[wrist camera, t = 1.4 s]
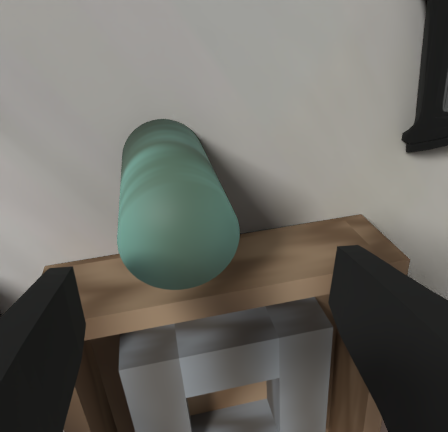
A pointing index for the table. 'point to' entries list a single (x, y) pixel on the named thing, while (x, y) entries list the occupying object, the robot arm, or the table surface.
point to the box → (226, 341)
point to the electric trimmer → (432, 83)
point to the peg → (173, 209)
